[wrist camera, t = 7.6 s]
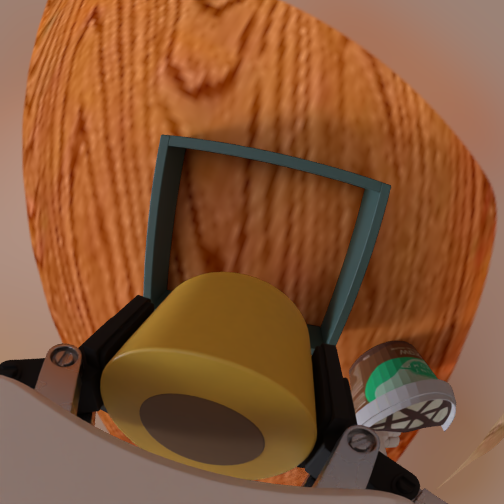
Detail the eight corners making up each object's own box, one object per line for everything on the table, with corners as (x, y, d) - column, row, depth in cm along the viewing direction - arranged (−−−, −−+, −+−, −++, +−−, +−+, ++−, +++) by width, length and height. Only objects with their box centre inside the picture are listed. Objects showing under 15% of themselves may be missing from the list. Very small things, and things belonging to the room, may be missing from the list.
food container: (443, 336, 25) (481, 390, 15) (421, 374, 27) (448, 431, 17) (356, 325, 26) (382, 395, 16) (337, 369, 28) (349, 439, 18)
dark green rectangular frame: (374, 182, 21) (391, 185, 18) (325, 334, 26) (330, 358, 23) (179, 138, 22) (160, 134, 18) (159, 293, 27) (142, 312, 23)
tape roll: (331, 293, 10) (359, 386, 5) (284, 406, 12) (278, 491, 7) (164, 252, 10) (84, 311, 6) (158, 373, 12) (114, 444, 7)
